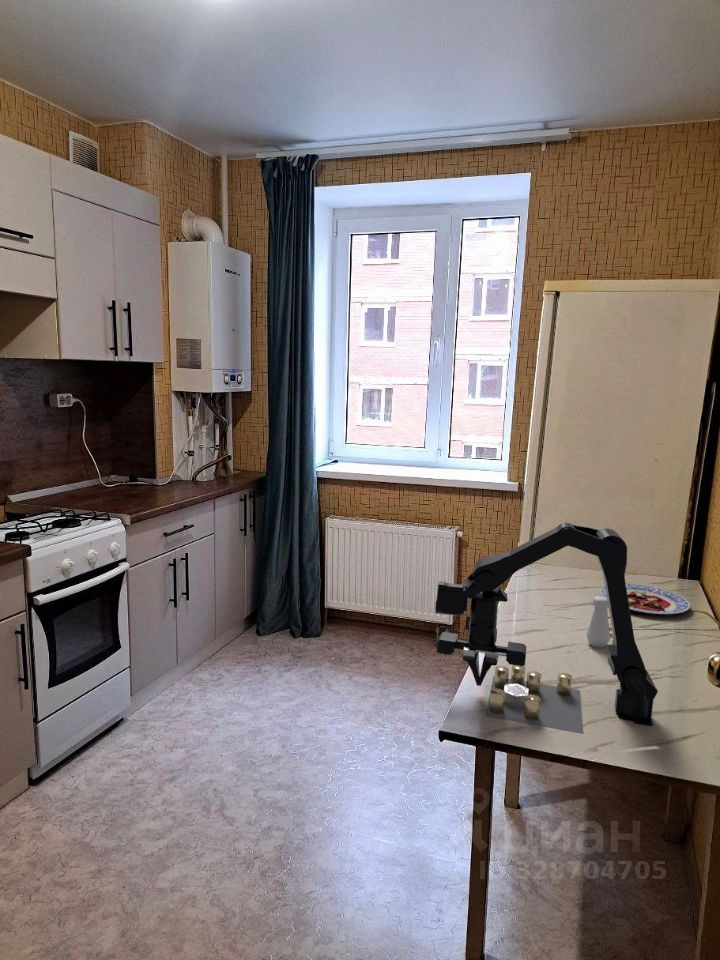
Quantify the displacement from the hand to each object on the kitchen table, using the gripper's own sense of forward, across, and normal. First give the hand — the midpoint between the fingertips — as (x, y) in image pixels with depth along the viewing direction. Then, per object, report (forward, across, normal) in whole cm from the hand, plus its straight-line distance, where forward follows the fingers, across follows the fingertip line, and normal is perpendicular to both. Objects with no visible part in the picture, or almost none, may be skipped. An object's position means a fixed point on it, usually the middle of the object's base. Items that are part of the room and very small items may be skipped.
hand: (478, 684), depth 137 cm
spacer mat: (+3, -12, 0) cm, 12 cm away
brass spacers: (+2, -11, -1) cm, 11 cm away
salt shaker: (+3, -27, -38) cm, 47 cm away
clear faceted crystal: (+2, -8, 0) cm, 8 cm away
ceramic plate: (+3, -43, -76) cm, 87 cm away
